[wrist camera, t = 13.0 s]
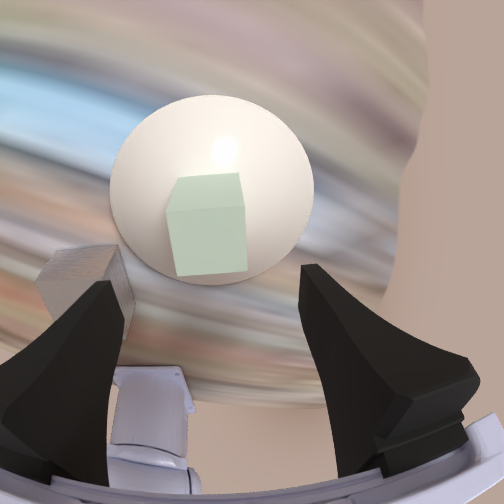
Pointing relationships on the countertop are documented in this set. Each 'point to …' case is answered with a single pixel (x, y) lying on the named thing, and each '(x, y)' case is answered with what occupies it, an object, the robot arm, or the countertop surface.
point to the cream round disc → (212, 162)
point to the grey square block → (84, 279)
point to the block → (208, 225)
